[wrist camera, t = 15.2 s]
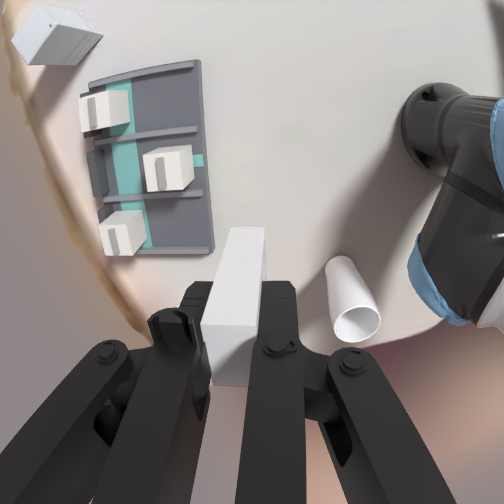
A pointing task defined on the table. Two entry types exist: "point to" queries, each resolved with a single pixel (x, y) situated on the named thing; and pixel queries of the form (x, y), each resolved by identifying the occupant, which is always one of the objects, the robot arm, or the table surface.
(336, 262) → the drinking glass
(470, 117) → the robot arm
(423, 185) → the table surface
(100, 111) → the white block
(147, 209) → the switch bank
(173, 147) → the white block with ridge
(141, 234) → the switch slider
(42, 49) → the supplement box
